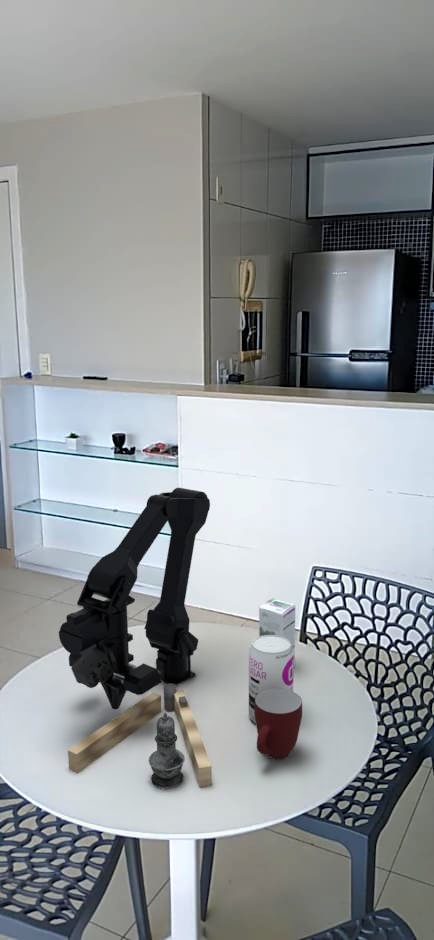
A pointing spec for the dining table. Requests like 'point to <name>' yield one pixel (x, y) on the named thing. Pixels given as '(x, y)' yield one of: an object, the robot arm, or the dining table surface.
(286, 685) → the supplement can
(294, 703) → the mug
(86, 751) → the tongs jaw
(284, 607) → the syrup box
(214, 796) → the dining table surface
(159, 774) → the salt shaker
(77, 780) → the dining table surface
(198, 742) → the tongs fixed arm
